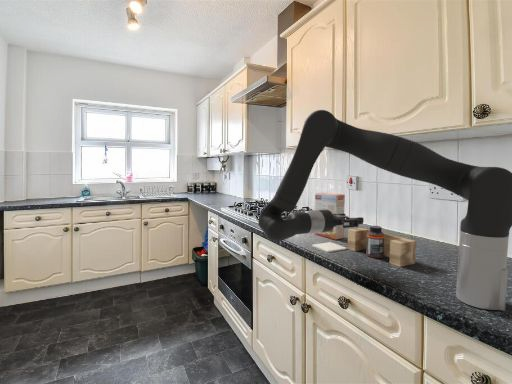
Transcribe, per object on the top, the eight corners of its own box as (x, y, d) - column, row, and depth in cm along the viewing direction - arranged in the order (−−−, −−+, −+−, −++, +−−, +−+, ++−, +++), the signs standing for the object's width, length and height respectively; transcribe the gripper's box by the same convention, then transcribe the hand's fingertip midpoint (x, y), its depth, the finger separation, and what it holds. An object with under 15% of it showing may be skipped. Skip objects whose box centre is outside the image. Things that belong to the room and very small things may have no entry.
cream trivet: (346, 249, 114) (347, 247, 114) (327, 252, 110) (327, 251, 110) (330, 243, 123) (330, 242, 123) (311, 246, 119) (311, 244, 119)
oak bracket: (399, 266, 94) (400, 243, 93) (347, 248, 116) (348, 229, 115) (415, 263, 98) (416, 240, 97) (361, 246, 119) (362, 227, 118)
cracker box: (344, 238, 132) (345, 194, 130) (335, 240, 129) (336, 194, 127) (322, 232, 144) (323, 192, 142) (313, 234, 141) (314, 192, 139)
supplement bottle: (369, 252, 110) (370, 224, 109) (385, 255, 106) (386, 226, 105) (363, 256, 105) (365, 226, 104) (380, 259, 102) (382, 228, 101)
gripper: (331, 213, 86) (370, 210, 93) (304, 207, 99) (339, 205, 106) (330, 237, 87) (368, 233, 94) (303, 228, 99) (338, 224, 106)
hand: (353, 218), depth 100 cm, fingers open, 8 cm apart
